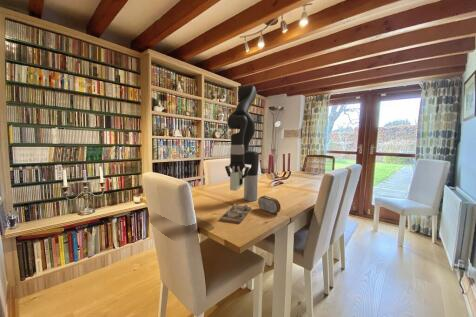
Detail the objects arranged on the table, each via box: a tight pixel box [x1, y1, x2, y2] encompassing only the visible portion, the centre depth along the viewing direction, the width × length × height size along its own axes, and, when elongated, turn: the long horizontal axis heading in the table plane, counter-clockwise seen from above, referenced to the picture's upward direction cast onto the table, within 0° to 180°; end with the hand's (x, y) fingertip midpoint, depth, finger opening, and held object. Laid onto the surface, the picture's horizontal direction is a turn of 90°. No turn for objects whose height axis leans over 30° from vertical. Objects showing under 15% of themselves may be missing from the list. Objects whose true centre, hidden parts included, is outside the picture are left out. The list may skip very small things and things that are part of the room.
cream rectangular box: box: [229, 169, 244, 192], centre depth 110 cm, size 4×12×9 cm, turn 162°
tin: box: [257, 195, 282, 215], centre depth 117 cm, size 15×3×8 cm, turn 41°
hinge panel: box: [219, 203, 252, 224], centre depth 112 cm, size 22×11×4 cm, turn 162°
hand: (237, 184), depth 111 cm, fingers closed on cream rectangular box, 3 cm apart
